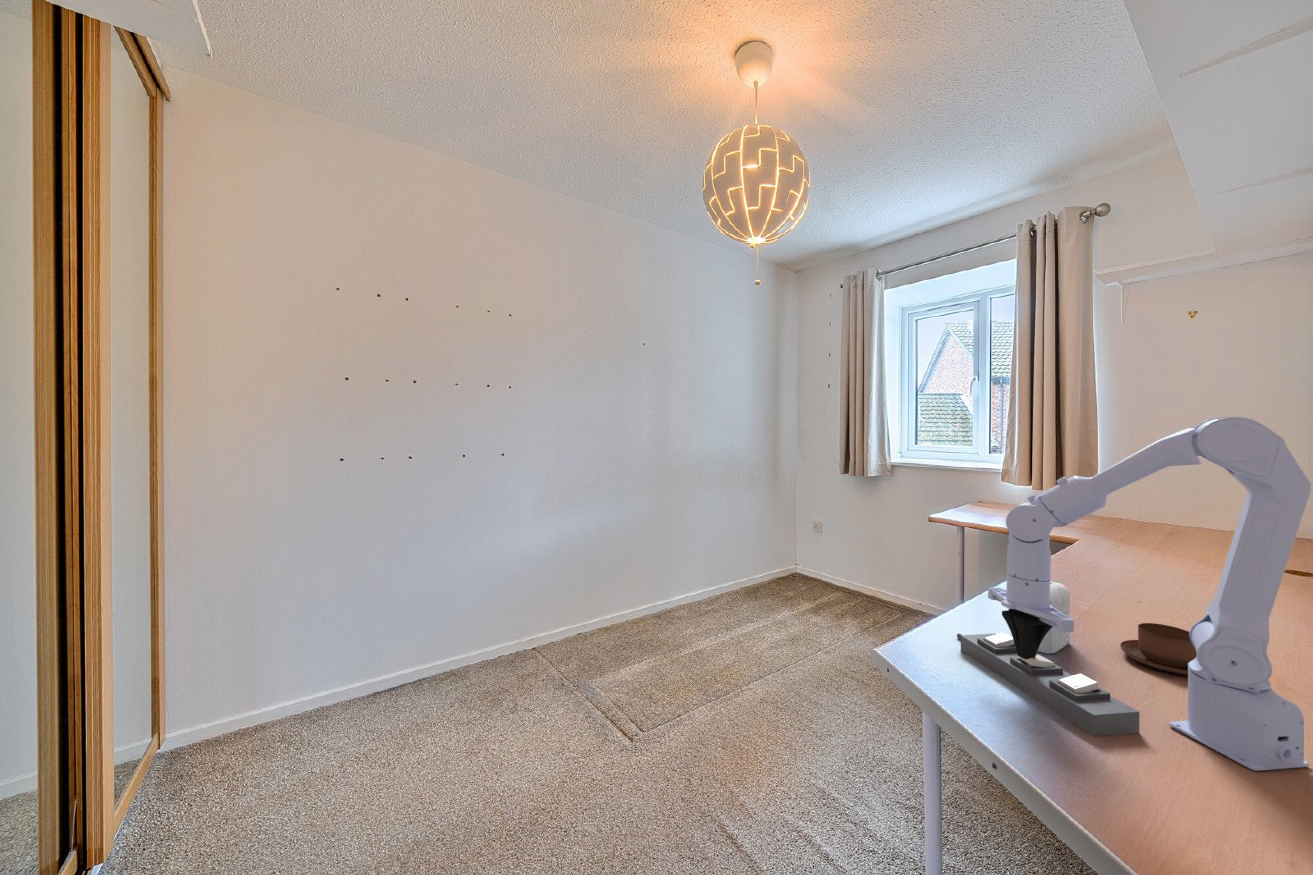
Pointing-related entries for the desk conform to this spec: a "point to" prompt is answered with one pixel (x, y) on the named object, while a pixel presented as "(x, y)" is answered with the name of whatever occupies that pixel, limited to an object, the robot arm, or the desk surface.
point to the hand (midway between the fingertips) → (1025, 656)
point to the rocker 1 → (1000, 640)
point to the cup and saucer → (1161, 648)
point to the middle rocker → (1039, 661)
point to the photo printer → (1054, 638)
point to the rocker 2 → (1079, 683)
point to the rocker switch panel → (1054, 689)
